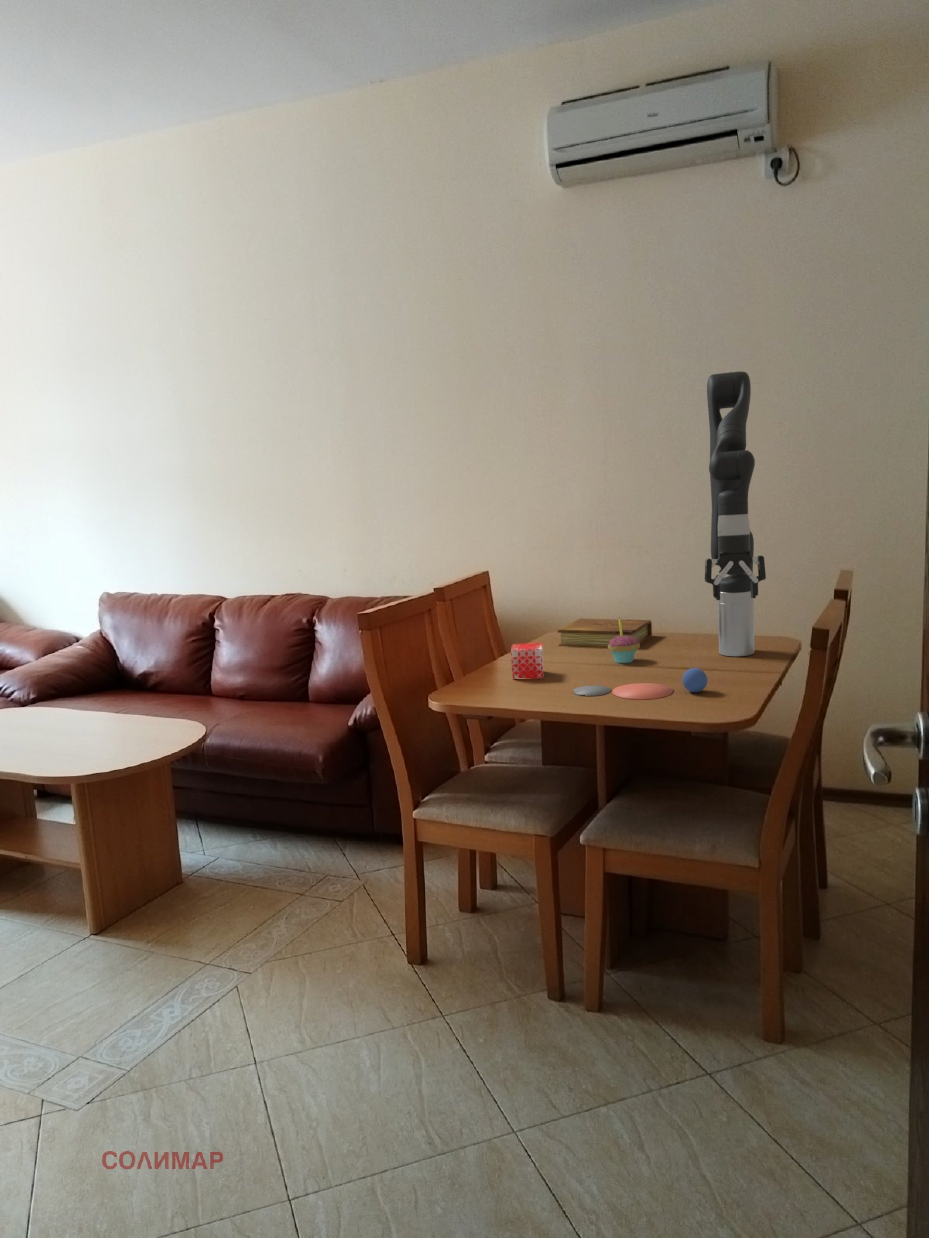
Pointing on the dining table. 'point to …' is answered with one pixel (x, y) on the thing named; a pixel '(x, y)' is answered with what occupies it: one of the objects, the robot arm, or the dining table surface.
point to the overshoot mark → (592, 690)
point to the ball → (694, 680)
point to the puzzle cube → (527, 660)
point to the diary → (602, 632)
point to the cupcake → (623, 647)
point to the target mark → (642, 691)
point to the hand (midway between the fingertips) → (735, 599)
